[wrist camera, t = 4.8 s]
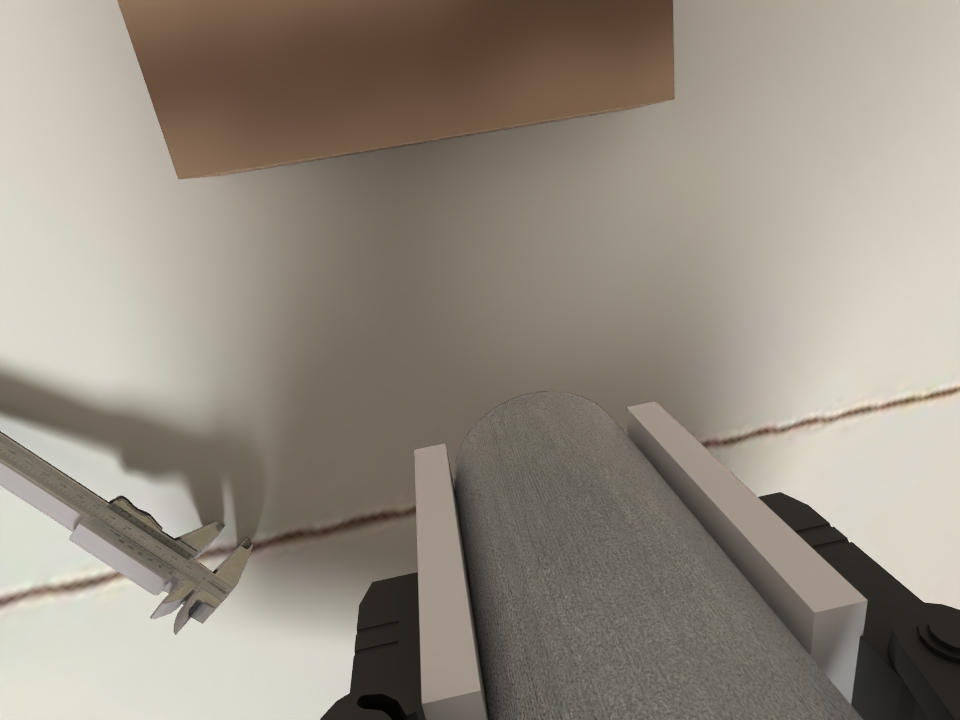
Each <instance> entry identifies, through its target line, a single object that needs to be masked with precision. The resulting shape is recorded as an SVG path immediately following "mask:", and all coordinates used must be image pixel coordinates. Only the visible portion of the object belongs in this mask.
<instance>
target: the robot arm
mask: <svg viewBox="0 0 960 720" xmlns="http://www.w3.org/2000/svg"><path fill="white" fill-rule="evenodd" d="M626 410H627V426H628V436H629V438H630V439H631V440H632V441H633V442H634V444H635V445H636V446H637V447H638V449H639V450H640V451H641V452H642V453H643V455H644V456H645V457H646V458H647V459H648V461H649V462H650V463H651V464H652V465H653V467H654V468H655V469H656V470H657V471H658V473H659V474H660V475H661V476H662V477H663V479H664V480H665V481H666V482H667V483H668V485H669V486H670V487H671V488H672V490H673V491H674V492H675V493H676V494H677V496H678V497H679V498H680V499H681V500H682V502H683V503H684V504H685V505H686V506H687V508H688V509H689V510H690V511H691V512H692V514H693V515H694V516H695V517H696V518H697V520H698V521H699V522H700V523H701V525H702V526H703V527H704V528H705V529H706V531H707V532H708V533H709V534H710V535H711V537H712V538H713V539H714V540H715V541H716V543H717V544H718V545H719V546H720V547H721V549H722V550H723V551H724V552H725V553H726V555H727V556H728V557H729V558H730V559H731V561H732V562H733V563H734V564H735V566H736V567H737V568H738V569H739V570H740V572H741V573H742V574H743V575H744V576H745V578H746V579H747V580H748V581H749V582H750V584H751V585H752V586H753V587H754V588H755V590H756V591H757V592H758V593H759V594H760V596H761V597H762V598H763V599H764V600H765V602H766V603H767V604H768V605H769V607H770V608H771V609H772V610H773V611H774V613H775V614H776V615H777V616H778V617H779V619H780V620H781V621H782V622H783V623H784V625H785V626H786V627H787V628H788V629H789V631H790V632H791V633H792V634H793V635H794V637H795V638H796V639H797V640H798V641H799V643H800V644H801V645H802V646H803V648H804V649H805V650H806V651H807V652H808V654H809V655H810V656H811V657H812V658H813V660H814V661H815V662H816V663H817V664H818V666H819V667H820V668H821V669H822V670H823V672H824V673H825V674H826V675H827V676H828V678H829V679H830V680H831V681H832V683H833V684H834V685H835V686H836V687H837V689H838V690H839V691H840V692H841V693H842V695H843V696H844V697H845V698H846V699H847V701H848V702H849V703H850V704H851V705H852V707H853V708H854V709H855V710H856V711H857V713H858V714H859V715H860V716H861V717H862V719H863V720H960V610H958V609H955V608H952V607H949V606H945V605H942V604H932V603H924V602H923V601H921V600H920V599H919V598H918V597H917V596H915V595H914V594H913V593H912V592H911V591H909V590H908V589H907V588H906V587H905V586H904V585H902V584H901V583H900V582H899V581H898V580H896V579H895V578H894V577H893V576H892V575H890V574H889V573H888V572H887V571H886V570H885V569H883V568H882V567H881V566H880V565H879V564H877V563H876V562H875V561H874V560H873V559H871V558H870V557H869V556H868V555H867V554H866V553H864V552H863V551H862V550H861V549H860V548H858V547H857V546H856V545H855V544H854V543H852V542H851V543H849V542H848V539H847V537H845V536H844V535H843V534H842V533H841V532H839V531H838V530H837V529H836V528H835V527H831V526H830V523H829V522H828V521H826V520H825V519H824V518H823V517H822V516H820V515H819V514H818V513H817V512H816V511H814V510H813V509H812V508H811V507H810V506H809V505H807V504H804V503H802V502H800V501H798V500H796V499H794V498H792V497H790V496H787V495H785V494H783V493H781V492H779V493H774V494H770V495H765V496H760V497H757V496H756V495H755V494H754V493H753V492H752V491H751V490H750V489H749V488H748V487H747V486H746V485H744V484H743V483H742V482H741V481H740V480H739V479H738V478H737V477H736V476H735V475H734V474H733V473H732V472H731V471H730V470H728V469H727V468H726V467H725V466H724V465H723V464H722V463H721V462H720V461H719V460H718V459H717V458H716V457H715V456H714V455H713V454H711V453H710V452H709V451H708V450H707V449H706V448H705V447H704V446H703V445H702V444H701V443H700V442H699V441H698V440H697V439H695V438H694V437H693V436H692V435H691V434H690V433H689V432H688V431H687V430H686V429H685V428H684V427H683V426H682V425H681V424H680V423H678V422H677V421H676V420H675V419H674V418H673V417H672V416H671V415H670V414H669V413H668V412H667V411H666V410H665V409H664V408H662V407H661V406H660V405H659V404H658V403H657V402H656V401H654V402H649V403H644V404H639V405H634V406H629V407H626ZM414 455H415V489H416V523H417V557H418V572H417V573H412V574H408V575H403V576H398V577H394V578H389V579H385V580H380V581H375V582H372V584H371V586H370V587H369V589H368V591H367V593H366V594H365V596H364V598H363V600H362V602H361V603H360V605H359V613H358V623H357V635H356V641H355V656H354V660H353V670H352V679H351V688H350V693H349V694H348V695H346V696H344V697H343V698H341V699H340V700H338V701H336V703H335V704H334V705H333V706H332V707H331V708H330V709H329V710H328V711H327V712H326V713H325V714H324V716H323V717H322V718H321V719H320V720H489V717H488V710H487V703H486V697H485V690H484V683H483V677H482V670H481V663H480V657H479V650H478V643H477V637H476V630H475V623H474V617H473V610H472V603H471V597H470V590H469V583H468V577H467V570H466V563H465V557H464V550H463V543H462V537H461V530H460V524H459V517H458V510H457V504H456V497H455V489H454V484H453V479H452V474H451V469H450V464H449V459H448V454H447V449H446V444H445V443H444V444H439V445H434V446H429V447H424V448H419V449H414Z"/></svg>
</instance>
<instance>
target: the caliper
mask: <svg viewBox="0 0 960 720" xmlns="http://www.w3.org/2000/svg"><path fill="white" fill-rule="evenodd" d="M0 485H1V486H2V487H4V488H5V489H7V490H8V491H10V492H11V493H13V494H15V495H16V496H18V497H19V498H21V499H22V500H24V501H26V502H27V503H29V504H30V505H32V506H33V507H35V508H36V509H38V510H40V511H41V512H43V513H44V514H46V515H47V516H49V517H50V518H52V519H54V520H55V521H57V522H58V523H60V524H61V525H63V526H65V527H66V528H68V529H69V530H71V531H72V532H73V533H72V534H71V536H70V538H69V540H71V541H72V542H74V543H75V544H77V545H78V546H80V547H81V548H83V549H84V550H86V551H87V552H89V553H90V554H92V555H93V556H95V557H96V558H98V559H100V560H101V561H103V562H104V563H106V564H107V565H109V566H110V567H112V568H113V569H115V570H116V571H118V572H119V573H121V574H122V575H124V576H125V577H127V578H128V579H130V580H131V581H133V582H134V583H136V584H138V585H139V586H141V587H142V588H144V589H145V590H147V591H148V592H150V593H152V594H153V595H159V594H160V593H161V592H162V591H165V592H167V593H169V595H168V596H167V597H166V598H165V599H164V600H163V601H162V602H161V604H160V605H159V606H158V608H157V609H156V610H155V611H154V613H153V614H152V615H151V617H150V618H151V619H155V618H158V617H161V616H165V615H167V614H170V613H172V612H173V611H174V610H176V609H177V608H178V607H179V606H180V605H181V604H183V605H184V606H183V607H182V608H181V610H180V611H179V612H178V614H177V617H176V620H175V623H174V633H175V635H176V634H177V633H178V632H179V631H180V629H181V628H182V627H183V626H184V625H185V624H186V623H187V621H188V620H189V619H190V618H191V617H192V618H194V619H195V620H197V621H199V622H201V623H202V624H203V623H204V621H205V620H206V619H207V618H208V617H209V616H210V615H211V614H212V613H213V612H214V611H215V610H216V608H217V607H218V606H219V605H220V604H221V603H222V602H223V601H224V600H225V599H226V597H227V596H228V595H229V594H230V592H231V591H232V590H233V589H234V587H235V586H236V585H237V584H238V582H239V579H240V577H241V574H242V572H243V570H244V567H245V565H246V563H247V560H248V558H249V555H250V553H251V550H252V547H253V545H252V543H251V541H250V540H249V539H248V538H246V539H245V540H244V541H243V542H242V543H241V544H240V546H239V547H238V548H237V549H236V550H235V551H234V552H233V553H232V554H231V555H230V556H229V557H228V558H227V559H225V560H224V561H223V562H222V563H221V564H220V565H219V566H218V567H217V568H216V569H215V570H214V571H213V572H212V571H210V570H209V569H208V568H206V567H205V566H204V565H202V564H201V563H199V562H198V561H196V560H195V559H197V558H198V557H199V556H200V555H201V554H202V553H203V552H204V551H205V550H206V549H207V548H208V547H209V546H210V544H211V543H212V542H213V540H214V539H215V538H216V537H217V536H218V534H219V533H220V532H221V530H222V529H223V528H224V525H222V524H220V523H218V522H213V523H211V524H208V525H206V526H204V527H201V528H199V529H196V530H194V531H192V532H189V533H187V534H184V535H182V536H180V537H177V538H175V539H174V538H173V537H171V536H169V535H168V534H166V533H165V532H163V531H162V527H161V526H160V525H159V524H158V523H157V521H156V520H155V519H154V518H153V517H152V516H151V515H150V514H149V513H147V512H145V511H143V510H140V509H138V508H137V507H135V506H134V505H133V504H132V503H131V502H130V501H129V500H128V499H127V498H126V497H124V496H118V497H116V498H115V499H113V500H111V501H110V502H107V501H106V500H104V499H103V498H101V497H100V496H98V495H97V494H95V493H94V492H92V491H91V490H89V489H88V488H86V487H85V486H83V485H81V484H80V483H78V482H77V481H75V480H74V479H72V478H71V477H69V476H68V475H66V474H65V473H63V472H62V471H60V470H59V469H57V468H55V467H54V466H52V465H51V464H49V463H48V462H46V461H45V460H43V459H42V458H40V457H39V456H37V455H36V454H34V453H33V452H31V451H30V450H28V449H26V448H25V447H23V446H22V445H20V444H19V443H17V442H16V441H14V440H13V439H11V438H10V437H8V436H7V435H5V434H4V433H2V432H0Z"/></svg>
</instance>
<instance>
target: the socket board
mask: <svg viewBox="0 0 960 720" xmlns="http://www.w3.org/2000/svg"><path fill="white" fill-rule="evenodd" d="M118 3H119V6H120V9H121V12H122V15H123V18H124V21H125V24H126V27H127V30H128V32H129V35H130V38H131V41H132V44H133V47H134V50H135V53H136V56H137V59H138V62H139V65H140V68H141V71H142V74H143V76H144V79H145V82H146V85H147V88H148V91H149V94H150V97H151V100H152V103H153V106H154V109H155V112H156V115H157V118H158V121H159V123H160V126H161V129H162V132H163V135H164V138H165V141H166V144H167V147H168V150H169V153H170V156H171V159H172V162H173V165H174V167H175V170H176V173H177V176H178V179H188V178H200V177H211V176H220V175H226V174H232V173H239V172H245V171H251V170H257V169H263V168H269V167H276V166H282V165H288V164H294V163H300V162H306V161H313V160H319V159H325V158H331V157H337V156H343V155H350V154H356V153H362V152H368V151H374V150H380V149H387V148H393V147H399V146H405V145H411V144H417V143H423V142H430V141H436V140H442V139H448V138H454V137H460V136H467V135H473V134H479V133H485V132H491V131H497V130H504V129H510V128H516V127H522V126H528V125H534V124H541V123H547V122H553V121H559V120H565V119H571V118H578V117H584V116H590V115H596V114H602V113H608V112H615V111H621V110H627V109H633V108H637V107H642V106H646V105H651V104H655V103H659V102H664V101H668V100H673V99H674V47H673V0H118Z"/></svg>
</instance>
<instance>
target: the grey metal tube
mask: <svg viewBox="0 0 960 720" xmlns="http://www.w3.org/2000/svg"><path fill="white" fill-rule="evenodd" d="M454 484H455V497H456V504H457V510H458V517H459V524H460V530H461V537H462V543H463V550H464V557H465V563H466V570H467V577H468V583H469V590H470V597H471V603H472V610H473V617H474V623H475V630H476V637H477V643H478V650H479V657H480V663H481V670H482V677H483V683H484V690H485V697H486V703H487V710H488V717H489V720H863V719H862V717H861V716H860V715H859V714H858V713H857V711H856V710H855V709H854V708H853V707H852V705H851V704H850V703H849V702H848V701H847V699H846V698H845V697H844V696H843V695H842V693H841V692H840V691H839V690H838V689H837V687H836V686H835V685H834V684H833V683H832V681H831V680H830V679H829V678H828V676H827V675H826V674H825V673H824V672H823V670H822V669H821V668H820V667H819V666H818V664H817V663H816V662H815V661H814V660H813V658H812V657H811V656H810V655H809V654H808V652H807V651H806V650H805V649H804V648H803V646H802V645H801V644H800V643H799V641H798V640H797V639H796V638H795V637H794V635H793V634H792V633H791V632H790V631H789V629H788V628H787V627H786V626H785V625H784V623H783V622H782V621H781V620H780V619H779V617H778V616H777V615H776V614H775V613H774V611H773V610H772V609H771V608H770V607H769V605H768V604H767V603H766V602H765V600H764V599H763V598H762V597H761V596H760V594H759V593H758V592H757V591H756V590H755V588H754V587H753V586H752V585H751V584H750V582H749V581H748V580H747V579H746V578H745V576H744V575H743V574H742V573H741V572H740V570H739V569H738V568H737V567H736V566H735V564H734V563H733V562H732V561H731V559H730V558H729V557H728V556H727V555H726V553H725V552H724V551H723V550H722V549H721V547H720V546H719V545H718V544H717V543H716V541H715V540H714V539H713V538H712V537H711V535H710V534H709V533H708V532H707V531H706V529H705V528H704V527H703V526H702V525H701V523H700V522H699V521H698V520H697V518H696V517H695V516H694V515H693V514H692V512H691V511H690V510H689V509H688V508H687V506H686V505H685V504H684V503H683V502H682V500H681V499H680V498H679V497H678V496H677V494H676V493H675V492H674V491H673V490H672V488H671V487H670V486H669V485H668V483H667V482H666V481H665V480H664V479H663V477H662V476H661V475H660V474H659V473H658V471H657V470H656V469H655V468H654V467H653V465H652V464H651V463H650V462H649V461H648V459H647V458H646V457H645V456H644V455H643V453H642V452H641V451H640V450H639V449H638V447H637V446H636V445H635V444H634V442H633V441H632V440H631V439H630V438H629V436H628V435H627V434H626V433H625V432H624V430H623V429H622V428H621V427H620V426H619V425H618V424H617V422H616V421H615V420H613V419H612V418H611V417H610V416H609V415H608V414H607V413H606V412H605V411H604V410H603V409H602V408H601V407H599V406H598V405H596V404H595V403H593V402H592V401H590V400H588V399H585V398H583V397H581V396H577V395H574V394H570V393H565V392H556V391H544V392H535V393H530V394H525V395H522V396H519V397H516V398H513V399H511V400H508V401H506V402H504V403H503V404H501V405H499V406H497V407H496V408H494V409H493V410H491V411H490V412H489V413H487V414H486V415H485V416H484V417H483V418H481V419H480V420H479V422H478V423H477V424H476V425H475V426H474V427H473V428H472V429H471V431H470V432H469V433H468V435H467V437H466V438H465V440H464V442H463V444H462V446H461V448H460V450H459V453H458V456H457V459H456V464H455V472H454Z"/></svg>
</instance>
